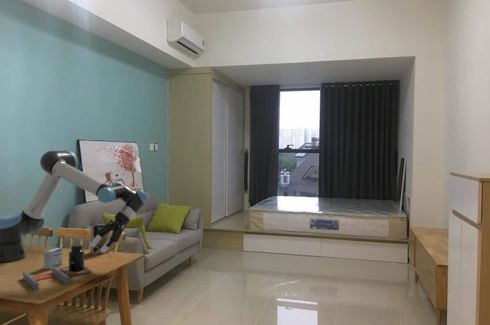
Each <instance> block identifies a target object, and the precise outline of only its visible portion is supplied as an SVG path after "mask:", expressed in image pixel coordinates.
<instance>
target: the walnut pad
mask: <svg viewBox="0 0 490 325" xmlns="http://www.w3.org/2000/svg"><path fill="white" fill-rule="evenodd" d="M59 270H60V271H61V272H63V273H64V274H66V275H67V276H68V277H69V278H75V277H79V276H84V275H88V274H92V273H93V272H92V270H91V269H90V268H88V267H86V266H85V265H84V269H83V270H82V271H78V272H71V271H69V266H64V267H60V269H59Z"/></svg>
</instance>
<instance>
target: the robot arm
mask: <svg viewBox="0 0 490 325" xmlns="http://www.w3.org/2000/svg"><path fill="white" fill-rule="evenodd" d="M39 164H40V167H41V169H42V170H43V171H44V172H46V174H45V176H44V178H43V179H42V182H41V183H40V184H39V186H38V188H37V189H36V192H35V194H34V195H33V197H32V199H31V201H30V203H29V205H27V206H25V207H23V208H22V211H21V213H15V212H13V213H9V214H8V213H5V214H2V215H0V263H9V262H16V261H21V260H23V259H24V258H26V255H27V254H26V251H25V247H24V245H23V243H22V241H23V240H22V239H23V238H22V237H23V236H26V235H30V234H34V233H36V232H38V231H40V230H42V228H43V227H44V225H45V223H46V222H45V221H46V220H45V216H46V215H45V213H44V212H45V211H46V210H47V207H48V205H49V203H50V202H51V200H52V198H53V197H54V195H55V193H56V191H57V189H58V188H59V186H60V185H61V182H62V181H63V180H65V181H67V182H69V183H70V184H72V185H74V186H76V187H78V188H80V189H82V190H84V191H86V192H88V193H90V194H92V195H94V196H96V197H97V199H98V200H99V201H100V202H101V203H105V204H106V203H108V204H109V203H112V202H115V201H119V200H121V201H123V202H124V203H125V204H124V205H122V207H121V208H120V209H119V211H118V212H117V213H116V214H115V216H114V219H115V220H113V219H110V221H109V222H108V223H107V224H106V225H105V226H104V227H103V228H101V229H100V230H99V231H98V232H97V233H98V235H97V236H96V237H95V238H94V239H93V241H92V242H91V241H90V243H89V244H88V245H89V246H91V247H93V248H94V247H95V245H96V244H97V243H98V242H99V241H100V240H101V239H102V238H103V236H104V235H105V234H107V233H109V232H112V233H111V235H110V238H109V239H108V241H107V242H106V243H105V244H104V245H103V247H102V248H101V249H100V251H101V252H103V253H102V254H105V253H107V252H106V251H107V249H108V248H109V249H110V247H111V246H112V244H113V243H118V241H119V239H120V238H121V236H122V233H123V232H124V230H125V228H126V226H127V225H128V224H129V222H130V221H131V220H132V219H133V218H134V217H135V216H136V214H137V213H138V212H139V211H140V210H141V209H142V207H143V206H144V205H145V204H146V202H147V201H148V199H149V196H148V194H147V193H145V192H144V191H143V190H141V189H137V190H136V191H135V190H133V189H131V188H130V187H129V186H127V185H126V184H124V183H123V182H121V181H117V180H116V181H115V182H113V183H112V185H109V184H107V183H104V182H103V181H101V180H99V179H97V178H95V177H93V176H91V175H89V174H87V173H85V172H84V171H81V170H80V169H77V167H78V165H79V159H78V157H77V155H76V153H74V152H72V151H70V150H66V149H65V150H48V151H46V152H44V153H43V155H42V156H41V157H40V159H39Z"/></svg>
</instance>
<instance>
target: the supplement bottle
mask: <svg viewBox="0 0 490 325" xmlns="http://www.w3.org/2000/svg"><path fill="white" fill-rule="evenodd" d="M70 249H71V250H70V251H69V253H68V267H69V271H71V272H78V271H82V270H83V269H84V266H85V251H84V250H83V245H82V244H81V243H79V244H75V243H74V244H72V245H71V248H70Z"/></svg>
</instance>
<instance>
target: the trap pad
mask: <svg viewBox="0 0 490 325" xmlns="http://www.w3.org/2000/svg"><path fill="white" fill-rule="evenodd" d="M32 277H33V278H34V279H35V280H36V281H37V282H38V281H41V280H42V281H43V280H47V279H52V278H55V275H54V274H52V272H49V273H45V274H39V275H35V276H34V275H33V276H32Z"/></svg>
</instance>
